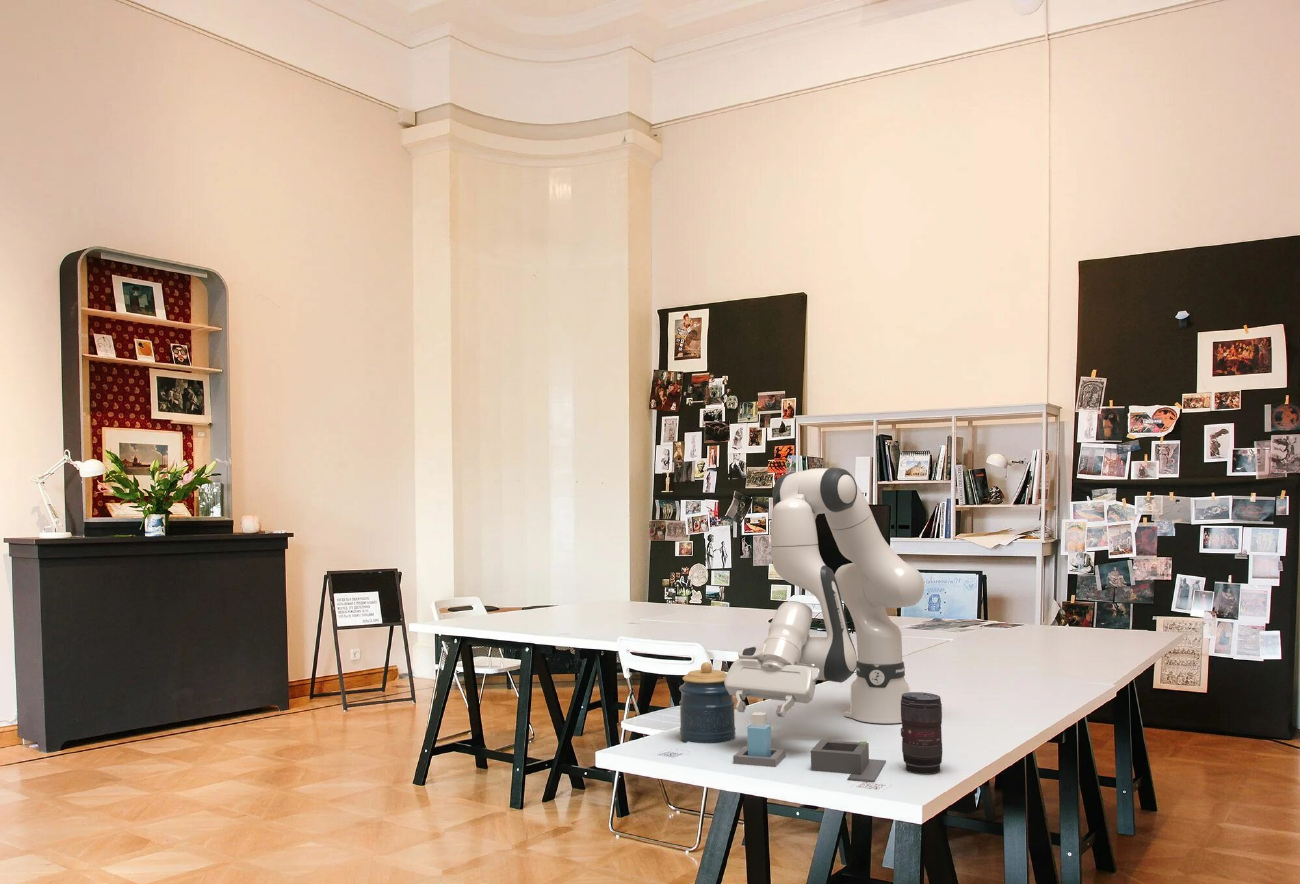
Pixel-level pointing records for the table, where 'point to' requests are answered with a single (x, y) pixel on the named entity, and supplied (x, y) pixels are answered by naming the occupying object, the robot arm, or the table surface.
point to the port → (846, 759)
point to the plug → (759, 736)
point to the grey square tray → (759, 758)
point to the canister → (706, 707)
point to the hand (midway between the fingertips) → (759, 712)
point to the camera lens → (921, 732)
